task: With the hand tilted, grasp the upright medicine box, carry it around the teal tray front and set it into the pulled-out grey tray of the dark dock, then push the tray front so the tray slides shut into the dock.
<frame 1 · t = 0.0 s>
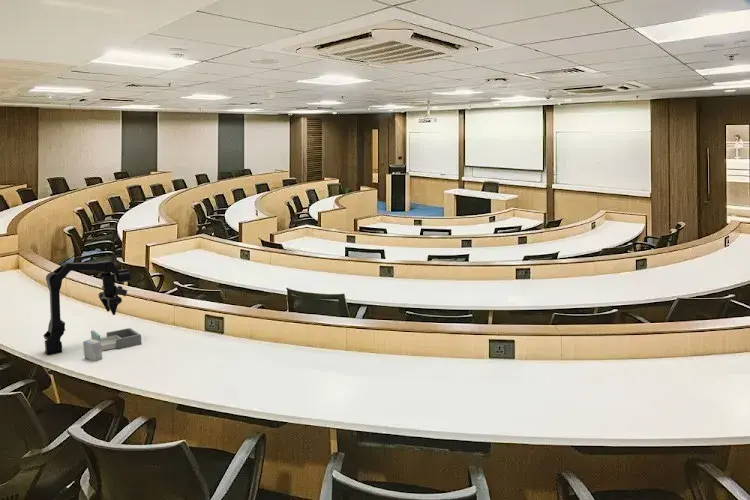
hand: (111, 313, 293), 15 cm above the table, tool pointing down, fingers open, 9 cm apart
dock: (124, 342, 290), on the table
medicine box: (93, 358, 267), on the table
tray: (107, 338, 284), point 4 cm above the table, slide at 6.0 cm
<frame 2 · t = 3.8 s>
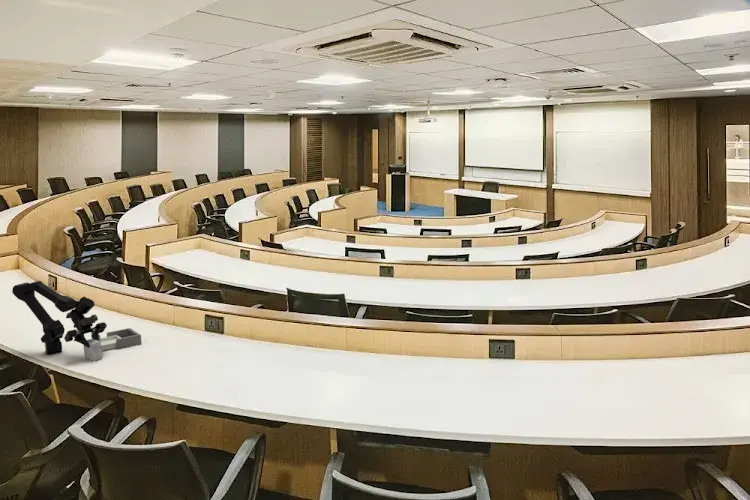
hand: (94, 345, 266), 7 cm above the table, tool tilted 45°, fingers closed on medicine box, 4 cm apart
medicine box: (93, 358, 267), on the table, touching gripper
everything else where it was.
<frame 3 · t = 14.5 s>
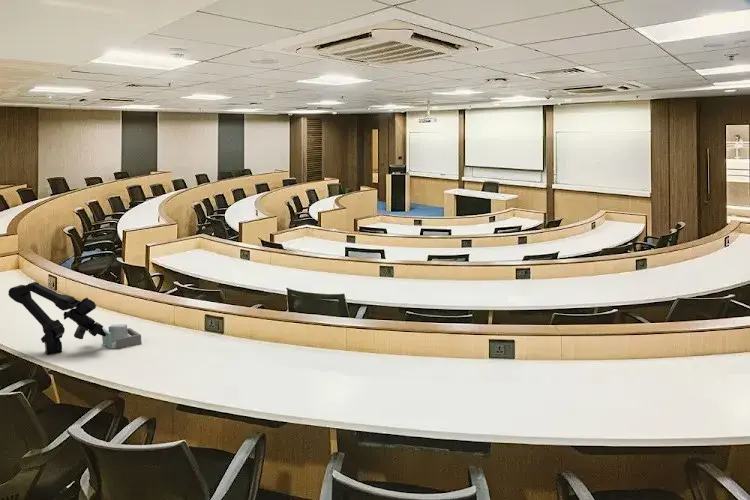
hand: (105, 335, 283), 6 cm above the table, tool tilted 45°, fingers closed
medicine box: (119, 341, 288), point 1 cm above the table, touching tray
tray: (118, 336, 288), point 4 cm above the table, slide at 0.9 cm, touching medicine box
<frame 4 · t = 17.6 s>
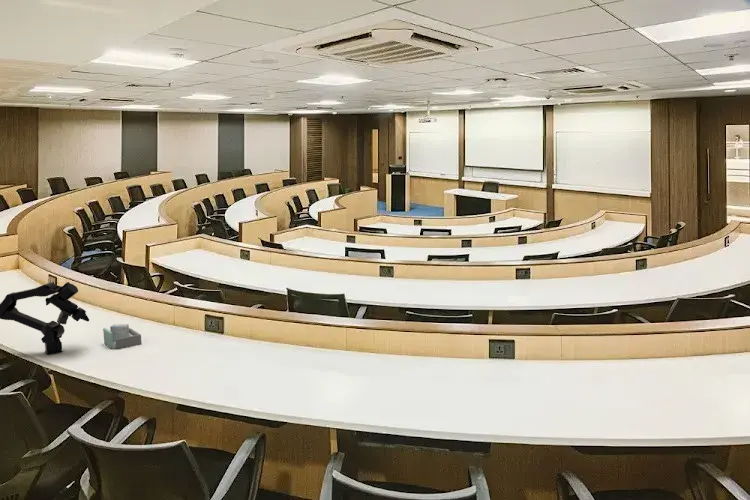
hand: (88, 320, 283), 14 cm above the table, tool tilted 45°, fingers closed
tray: (119, 335, 288), point 4 cm above the table, slide at 0.1 cm, touching medicine box
everything else where it was.
at the end: tray slide at 0.1 cm; medicine box inside the target area on the dock (0.3 cm from its centre), point 1.1 cm above the dock's base; medicine box tilted 0° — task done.
